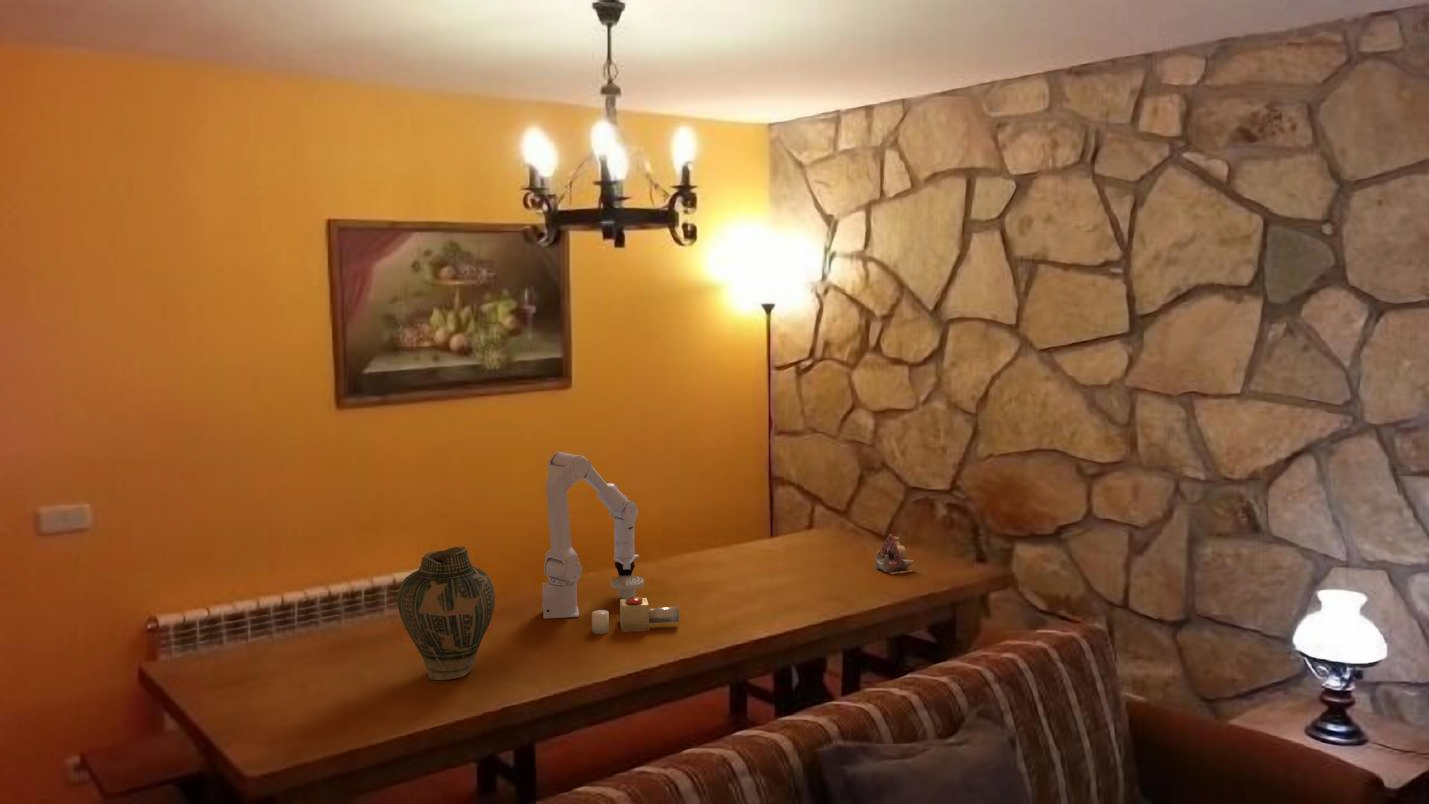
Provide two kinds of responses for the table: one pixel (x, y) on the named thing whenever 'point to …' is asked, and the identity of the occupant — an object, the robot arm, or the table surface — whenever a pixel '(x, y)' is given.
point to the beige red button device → (643, 614)
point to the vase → (447, 611)
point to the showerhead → (627, 585)
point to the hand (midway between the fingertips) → (624, 587)
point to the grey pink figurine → (892, 557)
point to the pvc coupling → (600, 621)
